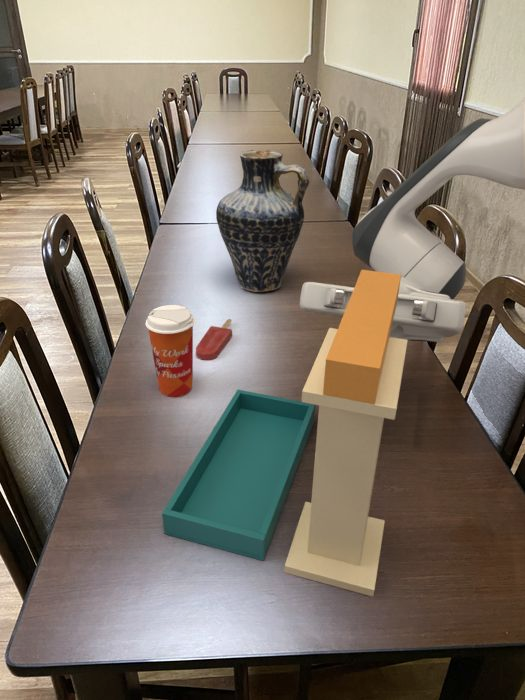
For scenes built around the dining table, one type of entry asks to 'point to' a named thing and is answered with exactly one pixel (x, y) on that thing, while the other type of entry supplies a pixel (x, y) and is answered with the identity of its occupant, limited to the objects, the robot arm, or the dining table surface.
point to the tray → (242, 475)
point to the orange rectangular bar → (362, 338)
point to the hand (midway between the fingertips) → (377, 301)
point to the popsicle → (214, 341)
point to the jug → (262, 220)
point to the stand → (345, 480)
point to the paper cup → (172, 348)
